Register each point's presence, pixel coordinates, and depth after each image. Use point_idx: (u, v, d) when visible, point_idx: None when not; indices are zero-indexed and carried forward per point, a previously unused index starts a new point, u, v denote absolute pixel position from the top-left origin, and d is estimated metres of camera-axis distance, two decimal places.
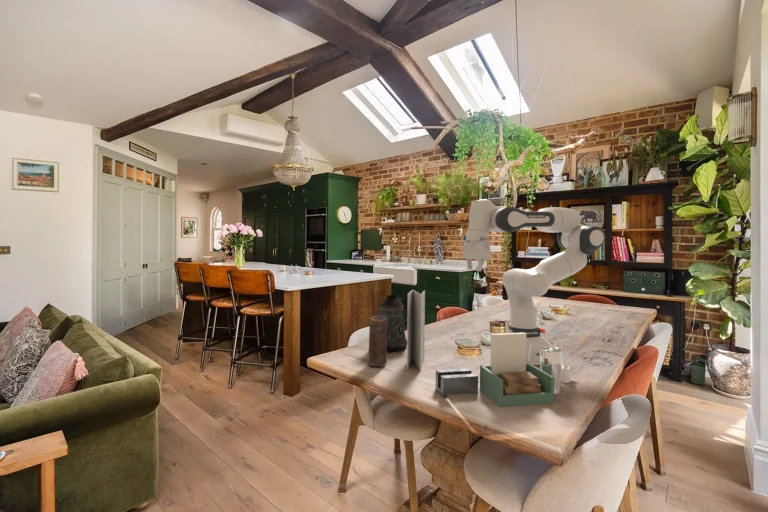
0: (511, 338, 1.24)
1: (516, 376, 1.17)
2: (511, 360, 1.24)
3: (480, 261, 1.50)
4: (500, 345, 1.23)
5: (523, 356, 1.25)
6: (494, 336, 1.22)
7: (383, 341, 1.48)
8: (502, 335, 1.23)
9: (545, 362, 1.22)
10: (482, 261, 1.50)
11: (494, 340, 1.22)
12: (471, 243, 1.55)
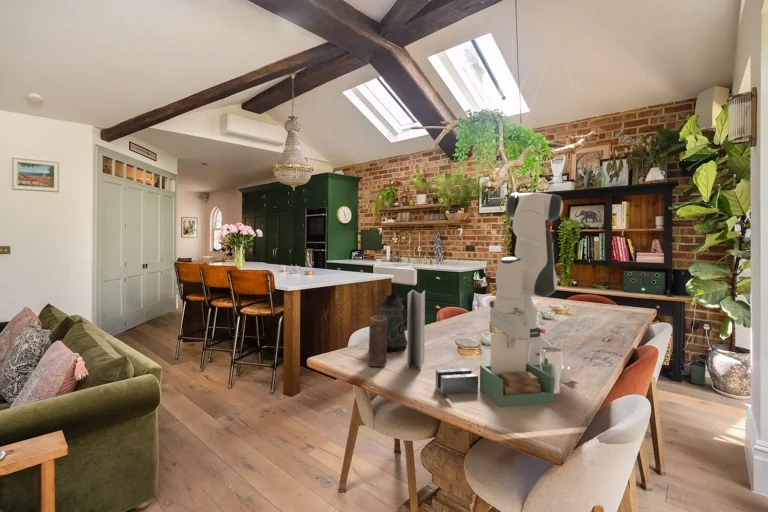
0: None
1: (516, 376, 1.17)
2: (511, 360, 1.24)
3: (512, 337, 1.21)
4: (500, 345, 1.23)
5: (523, 356, 1.25)
6: (494, 336, 1.22)
7: (383, 341, 1.48)
8: (502, 335, 1.23)
9: (545, 362, 1.22)
10: None
11: (494, 340, 1.22)
12: (502, 314, 1.22)
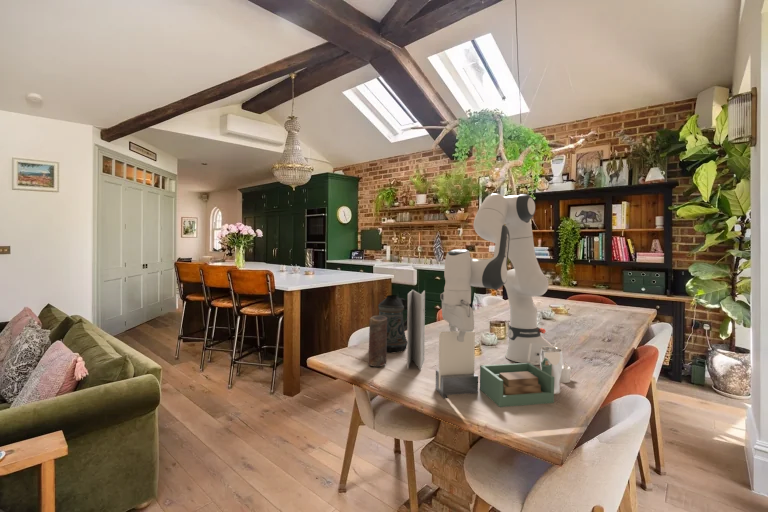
0: None
1: (516, 376, 1.17)
2: (459, 358, 1.24)
3: (461, 330, 1.19)
4: (448, 343, 1.23)
5: (471, 354, 1.25)
6: (442, 334, 1.23)
7: (383, 341, 1.48)
8: (450, 333, 1.23)
9: (545, 362, 1.22)
10: None
11: (442, 338, 1.23)
12: (450, 307, 1.22)
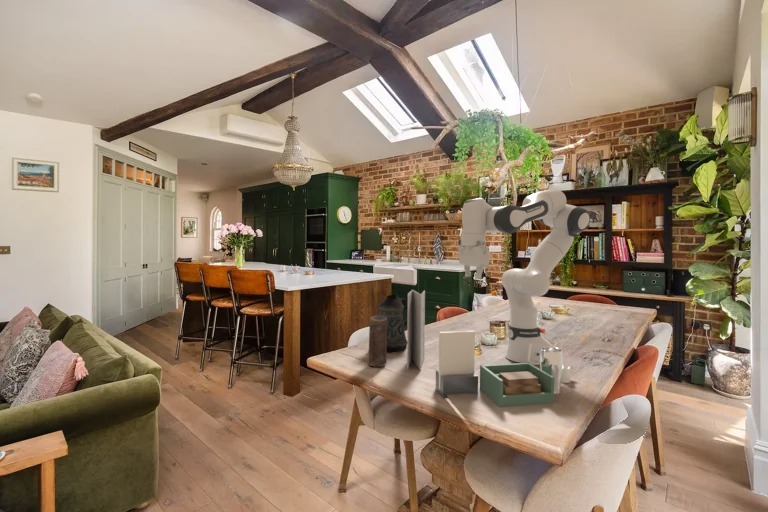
0: (459, 336, 1.24)
1: (516, 376, 1.17)
2: (459, 358, 1.24)
3: (479, 268, 1.34)
4: (448, 343, 1.23)
5: (471, 354, 1.25)
6: (442, 334, 1.23)
7: (383, 341, 1.48)
8: (450, 333, 1.23)
9: (545, 362, 1.22)
10: (481, 268, 1.34)
11: (442, 338, 1.23)
12: (467, 248, 1.39)
